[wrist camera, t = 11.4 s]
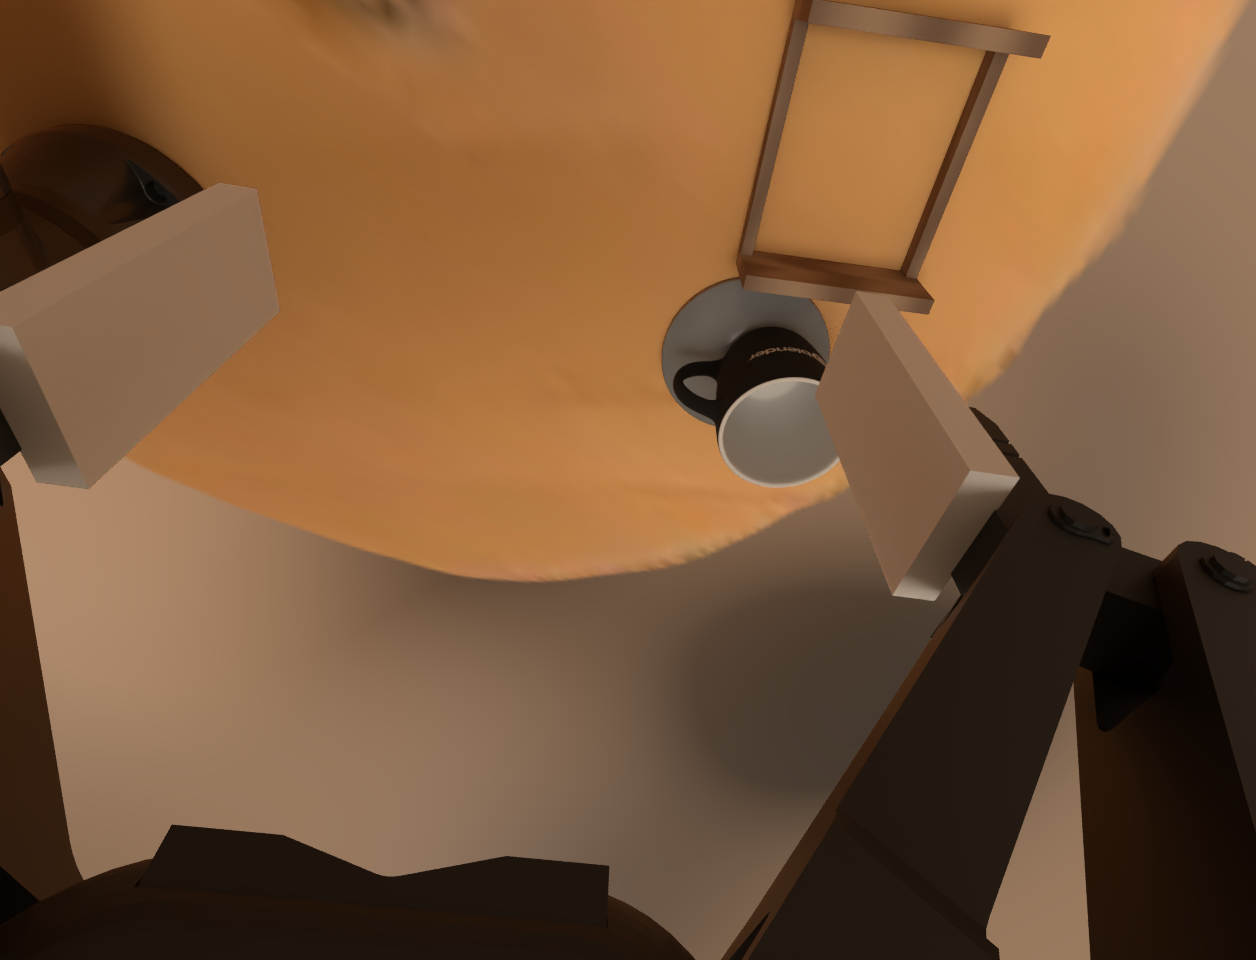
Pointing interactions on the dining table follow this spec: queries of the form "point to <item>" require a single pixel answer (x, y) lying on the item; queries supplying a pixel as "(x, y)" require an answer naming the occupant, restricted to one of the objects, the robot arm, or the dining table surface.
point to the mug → (766, 408)
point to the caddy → (903, 285)
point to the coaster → (732, 330)
